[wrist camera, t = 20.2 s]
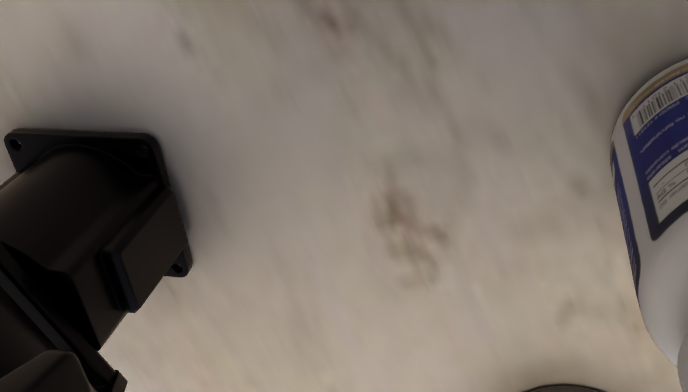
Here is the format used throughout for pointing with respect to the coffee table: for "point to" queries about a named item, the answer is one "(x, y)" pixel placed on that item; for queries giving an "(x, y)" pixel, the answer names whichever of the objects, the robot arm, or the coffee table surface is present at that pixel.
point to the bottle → (563, 389)
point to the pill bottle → (657, 206)
